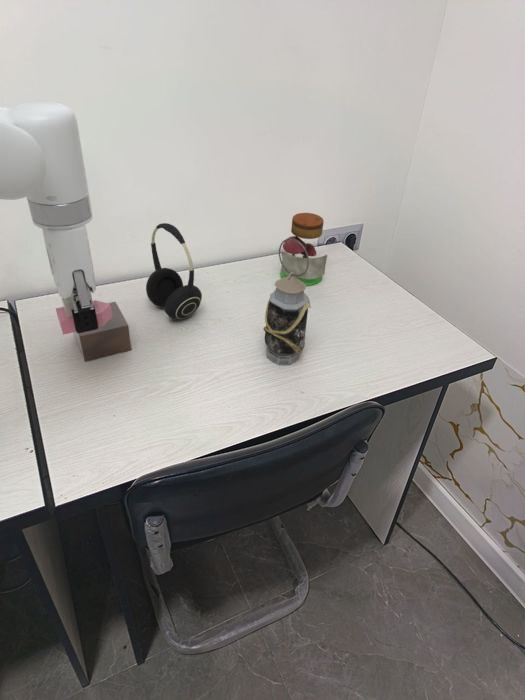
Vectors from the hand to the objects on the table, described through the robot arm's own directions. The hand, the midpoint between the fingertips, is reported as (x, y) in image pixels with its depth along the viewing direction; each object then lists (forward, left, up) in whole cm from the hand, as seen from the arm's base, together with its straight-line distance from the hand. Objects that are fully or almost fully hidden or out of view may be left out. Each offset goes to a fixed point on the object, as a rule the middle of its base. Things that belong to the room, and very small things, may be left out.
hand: (84, 321), depth 76 cm
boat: (0, 0, 0) cm, 0 cm away
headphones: (+21, +20, -17) cm, 34 cm away
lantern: (+35, -3, -17) cm, 39 cm away
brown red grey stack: (+55, +23, -17) cm, 62 cm away
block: (+4, +15, -16) cm, 23 cm away
